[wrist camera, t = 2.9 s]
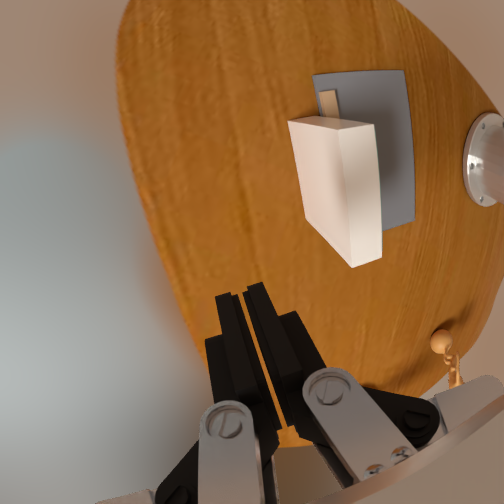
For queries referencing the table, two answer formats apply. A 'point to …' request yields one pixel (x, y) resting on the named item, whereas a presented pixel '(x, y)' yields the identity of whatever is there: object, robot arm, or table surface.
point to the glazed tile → (340, 184)
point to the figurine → (447, 355)
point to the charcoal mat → (378, 130)
